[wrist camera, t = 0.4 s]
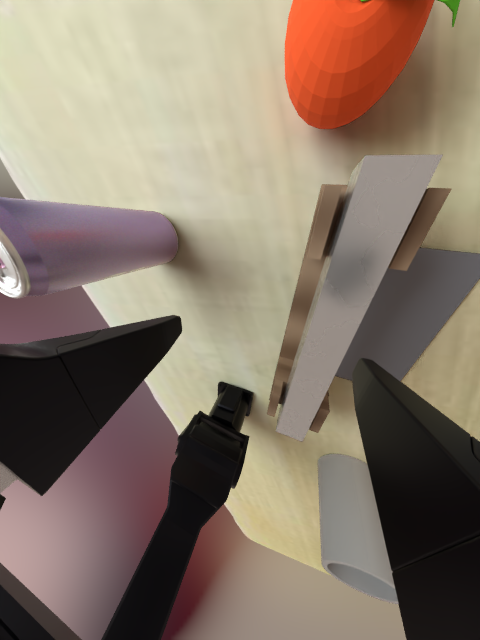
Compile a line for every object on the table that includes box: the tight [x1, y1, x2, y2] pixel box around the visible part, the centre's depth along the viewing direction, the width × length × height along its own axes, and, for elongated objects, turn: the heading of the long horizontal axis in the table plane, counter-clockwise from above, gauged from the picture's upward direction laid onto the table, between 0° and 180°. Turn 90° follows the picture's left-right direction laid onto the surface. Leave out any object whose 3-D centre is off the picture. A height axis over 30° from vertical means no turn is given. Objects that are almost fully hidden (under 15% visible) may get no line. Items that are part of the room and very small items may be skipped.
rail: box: [276, 155, 443, 441], centre depth 15 cm, size 24×3×3 cm, turn 175°
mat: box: [335, 248, 480, 381], centre depth 19 cm, size 16×7×1 cm, turn 175°
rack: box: [267, 184, 451, 433], centre depth 18 cm, size 24×6×7 cm, turn 175°
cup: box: [318, 454, 398, 604], centre depth 27 cm, size 9×9×12 cm
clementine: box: [285, 0, 460, 129], centre depth 9 cm, size 8×7×7 cm
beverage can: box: [0, 197, 178, 298], centre depth 17 cm, size 6×6×15 cm
